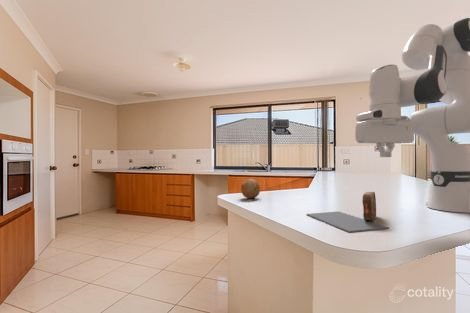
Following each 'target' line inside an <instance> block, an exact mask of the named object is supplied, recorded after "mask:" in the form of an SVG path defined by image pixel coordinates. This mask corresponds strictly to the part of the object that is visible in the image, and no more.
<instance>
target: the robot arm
mask: <svg viewBox="0 0 470 313" xmlns="http://www.w3.org/2000/svg"><path fill="white" fill-rule="evenodd" d="M469 52H470V17H466V18H463V19H460V20H457V21H456V22H455V23H453V24H450V25H448V26H447V27H444V28H443V29H442V28H441V27H440V26H439V25H437V24H433V23H432V24H431V23H430V24H425V25H423V26H421V27H419V28H417V30H416V31H415V32H414V33H413V35H412V36H410V38H409V40H408V41H407V43H406V44H405V46H404V48H403V50H402V53H401V59H402V62H403V64H404V65H405V66H406V67H408V68H409V69H411V70H415V71H420V70H421V71H422V70H426V71H424V72H421V73H418V74H415V75H412V76H408V77H407V76H406V77H404V78H402V77H400V72H399V68H398V65H397V64H387V65H383V66H380V67H376V68H375V69H373V70H372V71H371V73H370V76H369V86H368V94H369V95H368V96H369V98H370V104H369V110H367V111H365V112H362V113H359V114H357V115H356V121H357V122H356V124H355V132H354V133H355V141H356V142H357V143H358V144H376V148H377V149H378V153H379V157H380V158H391V157H392V152H393V150H394V148H395V147H396V146H395V144H412V143H414V141H415V135H416V136H417V137H419V138H420V139H422V140H423V141H424V142H425V143H426V145H427V147H428V150H429V152H430V160H431V171H430V172H429V173H430V175H429V178H430V180H431V183H430V184H429V186H428V196H427V198H428V199H427V201H426V202H425V205H426V206H427V208H430V209H433V210H439V211H443V212H444V211H446V212H453V213H465V214H466V213H469V214H470V150H469V148H468V147H467V146H464V145H462V144H460V143H456V142H454V141H451V140H450V139H449V135H453V134H454V135H456V134H468V133H470V54H469ZM437 102H441V103H443V104H445V105H438V106H431V107H426V108H422V109H419V110H416V111H414V112H412V113H411V114H410V116H409V117H408V116H407V115H402V108H407V107H412V106H417V105H427V104H428V105H429V104H436V103H437ZM385 147H386V149H385Z"/></svg>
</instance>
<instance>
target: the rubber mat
mask: <svg viewBox="0 0 470 313" xmlns="http://www.w3.org/2000/svg"><path fill="white" fill-rule="evenodd" d="M306 216H308V217H310V218H313V219H315V220H318V221H320V222H322V223H324V222H325V224H327V225H330V226H331V227H335V228H336V229H340V230H341V231H344V232H346V233H359V232H369V231H377V230H380V231H381V230H386V229H390V227H389V226H386V225H383V224H380V223H378V222H375V221H374V222H373V221H366V220H364V218H360V217H358V216H354V215H351V214H348V213H345V212H342V211H327V212H314V213H313V212H312V213H306Z"/></svg>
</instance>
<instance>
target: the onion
mask: <svg viewBox="0 0 470 313" xmlns="http://www.w3.org/2000/svg"><path fill="white" fill-rule="evenodd" d="M240 191H241V194H242V195H243V196H244V198H247V199H255V198H257V197H258V196H259V195H260V192H261V186H260V184H259V182H258V181H257V180H256V179H253V178H246V179H245V180H244V181H243V182H242V183H241V186H240Z"/></svg>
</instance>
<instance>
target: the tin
mask: <svg viewBox="0 0 470 313" xmlns="http://www.w3.org/2000/svg"><path fill="white" fill-rule="evenodd" d="M362 205H363V208H362V209H363V215H362V216H363V219H364V220H366V221H371V222H374V223H375V220H376V218H377V200H376V193H375V191H366V192H364V194H362Z"/></svg>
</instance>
